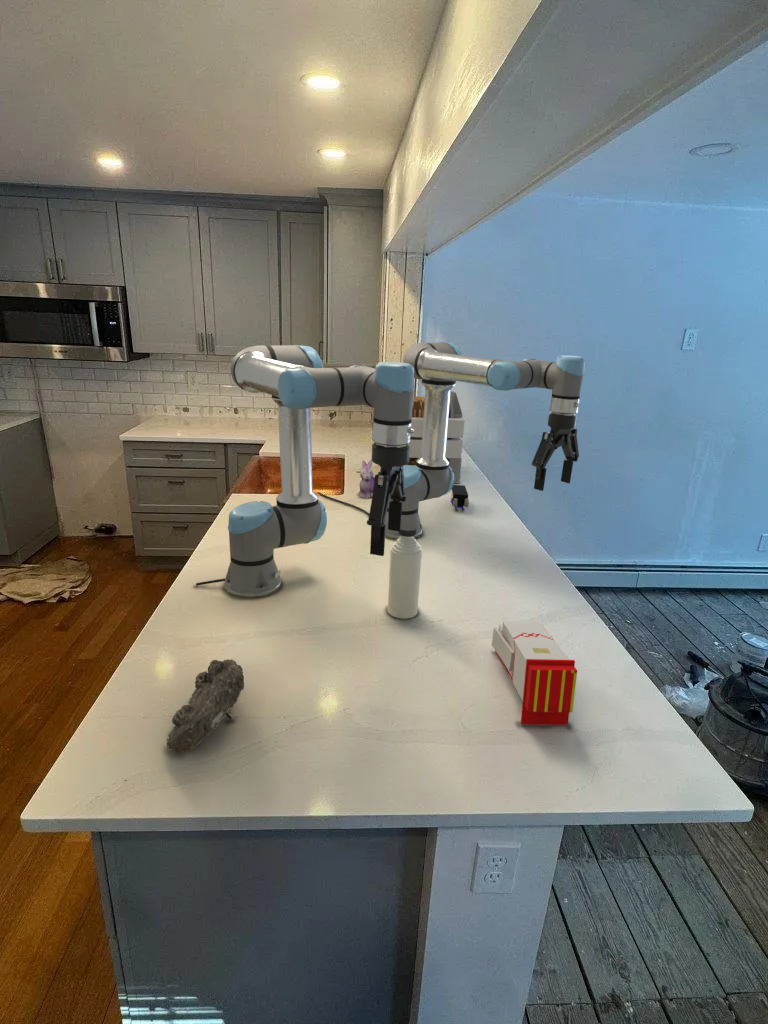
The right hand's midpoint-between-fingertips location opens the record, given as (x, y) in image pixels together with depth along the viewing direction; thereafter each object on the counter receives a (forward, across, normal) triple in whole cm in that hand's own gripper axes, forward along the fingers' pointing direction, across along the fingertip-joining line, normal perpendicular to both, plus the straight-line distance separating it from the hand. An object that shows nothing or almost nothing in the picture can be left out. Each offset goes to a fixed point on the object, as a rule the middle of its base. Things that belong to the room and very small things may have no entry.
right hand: (552, 485), depth 166 cm
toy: (+28, -49, -31) cm, 65 cm away
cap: (+5, -50, +8) cm, 51 cm away
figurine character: (+28, +25, +56) cm, 67 cm away
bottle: (+28, -50, +8) cm, 58 cm away
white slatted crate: (+28, +46, +101) cm, 115 cm away
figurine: (+28, +4, +88) cm, 93 cm away
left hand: (0, -68, -5) cm, 68 cm away
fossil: (+28, -107, 0) cm, 110 cm away
